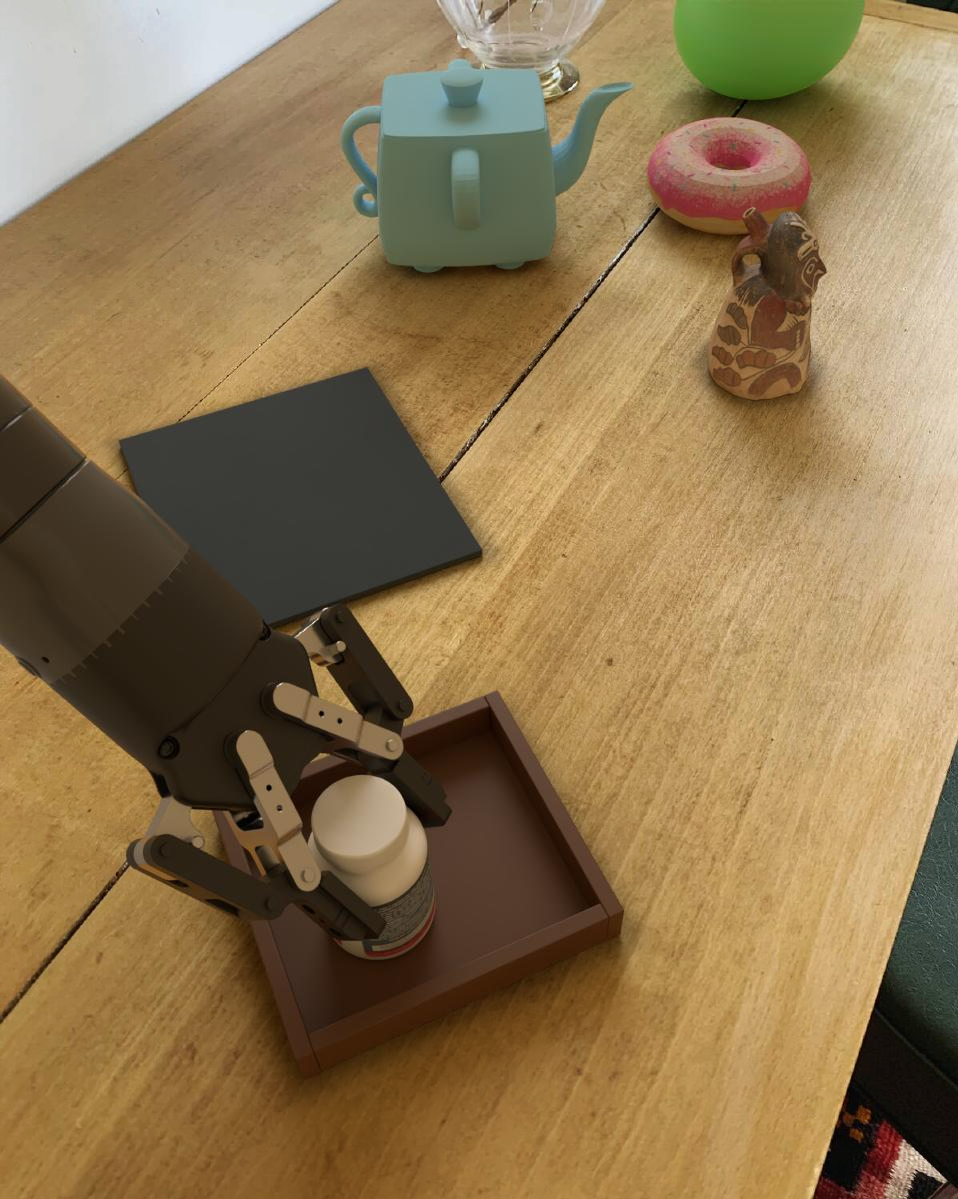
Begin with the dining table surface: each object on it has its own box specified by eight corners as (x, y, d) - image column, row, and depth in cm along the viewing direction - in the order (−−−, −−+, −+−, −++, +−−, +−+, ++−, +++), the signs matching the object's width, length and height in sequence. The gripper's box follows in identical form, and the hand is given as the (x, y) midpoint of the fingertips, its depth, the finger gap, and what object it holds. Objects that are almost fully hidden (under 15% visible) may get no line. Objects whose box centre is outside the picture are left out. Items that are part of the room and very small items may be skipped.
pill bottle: (453, 882, 54) (444, 786, 47) (406, 980, 50) (389, 892, 44) (356, 843, 55) (333, 745, 48) (304, 937, 52) (272, 845, 45)
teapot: (453, 325, 83) (445, 154, 73) (325, 238, 92) (302, 72, 81) (624, 235, 91) (638, 67, 81) (491, 161, 99) (489, 1, 89)
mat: (196, 655, 63) (194, 650, 63) (120, 445, 75) (118, 439, 75) (483, 555, 68) (482, 549, 67) (367, 371, 80) (367, 366, 80)
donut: (691, 262, 88) (699, 204, 84) (615, 183, 96) (619, 126, 92) (836, 224, 91) (850, 166, 87) (751, 150, 99) (760, 95, 95)
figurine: (787, 412, 76) (824, 257, 67) (690, 382, 78) (712, 228, 69) (820, 355, 80) (859, 200, 71) (726, 328, 82) (752, 175, 73)
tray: (304, 1080, 48) (295, 1060, 46) (219, 826, 56) (208, 800, 54) (620, 934, 52) (624, 910, 50) (498, 716, 60) (497, 689, 58)
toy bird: (762, 149, 99) (793, -29, 88) (623, 88, 108) (635, -81, 96) (880, 82, 107) (922, -89, 96) (741, 31, 115) (765, -132, 104)
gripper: (12, 733, 36) (370, 1030, 41) (261, 460, 44) (532, 737, 50) (-47, 761, 42) (274, 1018, 47) (183, 514, 50) (434, 758, 55)
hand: (405, 873), depth 48 cm, fingers closed on pill bottle, 5 cm apart
